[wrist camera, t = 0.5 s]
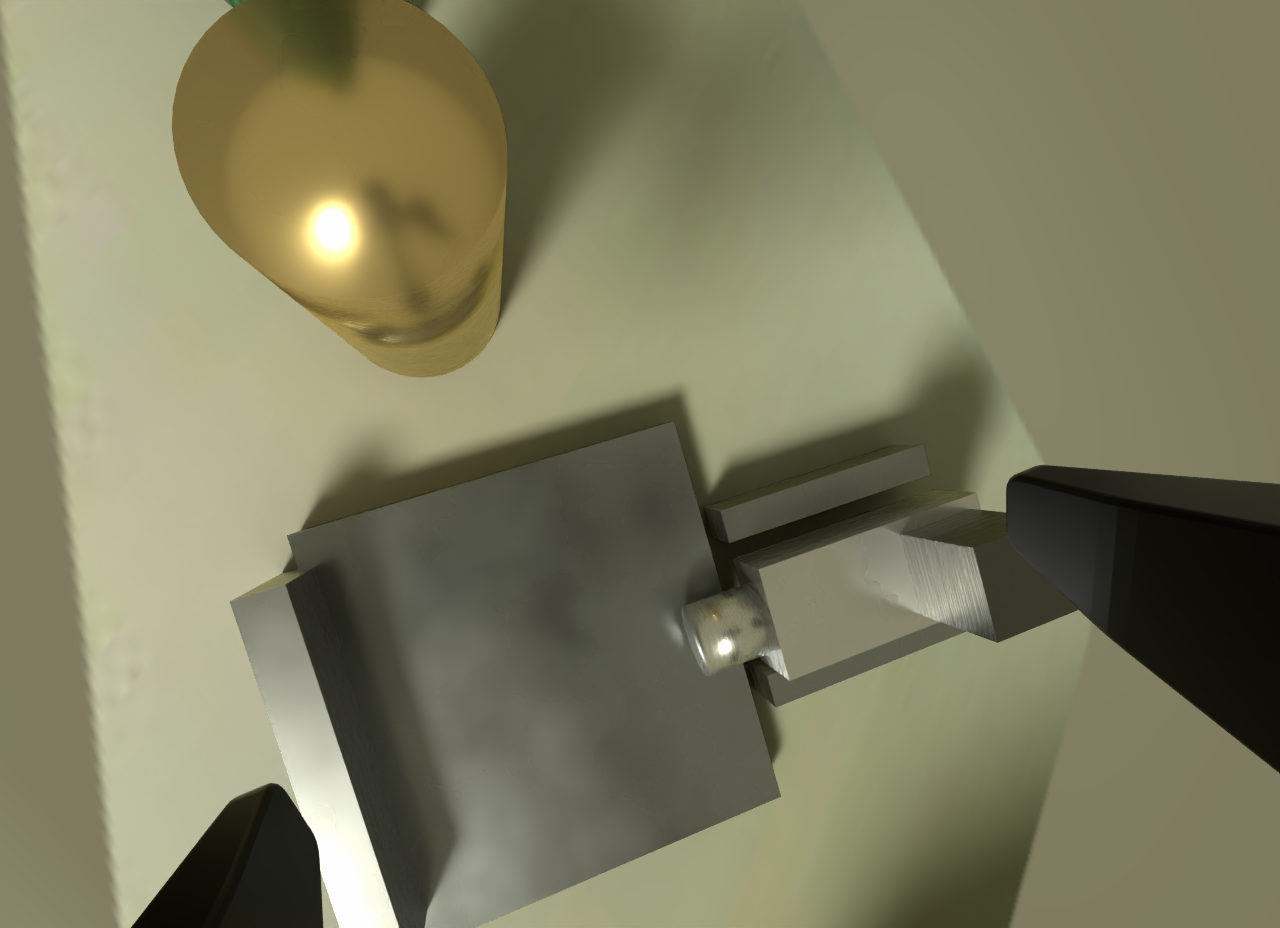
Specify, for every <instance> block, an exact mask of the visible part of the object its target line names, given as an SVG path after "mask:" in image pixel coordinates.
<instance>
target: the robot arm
mask: <svg viewBox="0 0 1280 928" xmlns="http://www.w3.org/2000/svg"><path fill="white" fill-rule="evenodd" d="M1006 532H1007V536H1008V539H1009V541H1010V543H1011V544H1012V546H1013V547H1014V549H1015V550H1016V551H1017V552H1018V553H1019V554H1020V555H1021V556H1022V557H1024V558H1025V559H1026V560H1027V561H1028V562H1029V563H1030V564H1031V565H1032V566H1033V567H1034V568H1035V569H1036V570H1037V571H1038V572H1039V573H1040V574H1042V575H1043V576H1044V577H1045V578H1046V579H1047V580H1048V581H1049V582H1050V583H1051V584H1052V585H1053V586H1054V587H1055V588H1056V589H1057V590H1058V591H1059V592H1061V593H1062V594H1063V595H1064V596H1065V597H1066V598H1067V599H1068V600H1069V601H1070V602H1071V603H1072V604H1073V605H1074V606H1075V607H1076V608H1077V609H1078V610H1080V611H1081V612H1082V613H1083V614H1084V615H1085V616H1086V617H1087V618H1088V619H1089V620H1090V621H1091V622H1092V623H1093V624H1095V625H1096V626H1097V627H1098V628H1099V629H1100V630H1101V631H1102V632H1103V633H1105V634H1106V635H1107V636H1108V637H1109V638H1110V639H1112V640H1113V641H1114V642H1115V643H1117V644H1118V645H1119V646H1120V647H1121V648H1122V649H1124V650H1125V651H1126V652H1127V653H1129V654H1130V655H1131V656H1132V657H1134V658H1135V659H1136V660H1137V661H1139V662H1140V663H1141V664H1143V665H1144V666H1145V667H1146V668H1148V669H1149V670H1150V671H1151V672H1153V673H1154V674H1155V675H1157V676H1158V677H1159V678H1160V679H1161V680H1163V681H1164V682H1165V683H1167V684H1168V685H1169V686H1170V687H1172V688H1173V689H1174V690H1175V691H1177V692H1178V693H1179V694H1180V695H1182V696H1183V697H1184V698H1185V699H1187V700H1188V701H1189V702H1191V703H1192V704H1193V705H1194V706H1195V707H1197V708H1198V709H1199V710H1201V711H1202V712H1203V713H1204V714H1206V715H1207V716H1208V717H1209V718H1211V719H1212V720H1213V721H1214V722H1216V723H1217V724H1218V725H1219V726H1221V727H1222V728H1223V729H1225V730H1226V731H1227V732H1228V733H1230V734H1231V735H1232V736H1233V737H1235V738H1236V739H1237V740H1238V741H1240V742H1241V743H1242V744H1243V745H1245V746H1246V747H1247V748H1248V749H1250V750H1251V751H1252V752H1254V753H1255V754H1256V755H1257V756H1259V757H1260V758H1261V759H1262V760H1264V761H1265V762H1266V763H1267V764H1269V765H1270V766H1271V767H1272V768H1274V769H1275V770H1276V771H1278V772H1279V773H1280V484H1273V483H1262V482H1249V481H1237V480H1224V479H1212V478H1199V477H1187V476H1174V475H1162V474H1149V473H1137V472H1124V471H1111V470H1098V469H1087V468H1074V467H1062V466H1050V465H1039V466H1035V467H1032V468H1030V469H1027V470H1025V471H1022V472H1020V473H1018V474H1015V475H1014V476H1012V477H1011V478H1010V479H1009V481H1008V484H1007V488H1006ZM131 928H323V913H322V893H321V872H320V855H319V849H318V844H317V841H316V838H315V836H314V834H313V832H312V830H311V829H310V827H309V826H308V824H307V823H306V821H305V820H304V818H303V817H302V815H301V814H300V812H299V811H298V809H297V808H296V806H295V805H294V803H293V802H292V800H291V799H290V797H289V795H288V794H287V792H286V791H285V790H284V789H283V788H282V787H281V786H280V785H278V784H274V783H270V784H266V785H264V786H261V787H259V788H257V789H254V790H252V791H249V792H247V793H245V794H242V795H240V796H238V797H236V798H234V799H233V800H231V801H230V802H229V803H228V804H227V805H226V807H225V808H224V809H223V810H222V812H221V813H220V814H219V815H218V817H217V818H216V819H215V821H214V822H213V823H212V824H211V826H210V827H209V828H208V830H207V831H206V832H205V833H204V835H203V836H202V837H201V839H200V840H199V841H198V842H197V844H196V845H195V846H194V848H193V849H192V850H191V851H190V853H189V854H188V855H187V856H186V858H185V859H184V860H183V862H182V863H181V864H180V865H179V867H178V868H177V869H176V871H175V872H174V873H173V874H172V876H171V877H170V878H169V880H168V881H167V882H166V883H165V885H164V886H163V887H162V889H161V890H160V891H159V892H158V894H157V895H156V896H155V897H154V899H153V900H152V901H151V903H150V904H149V905H148V906H147V908H146V909H145V910H144V912H143V913H142V914H141V915H140V917H139V918H138V919H137V921H136V922H135V923H134V924H133V926H132V927H131Z"/></svg>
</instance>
